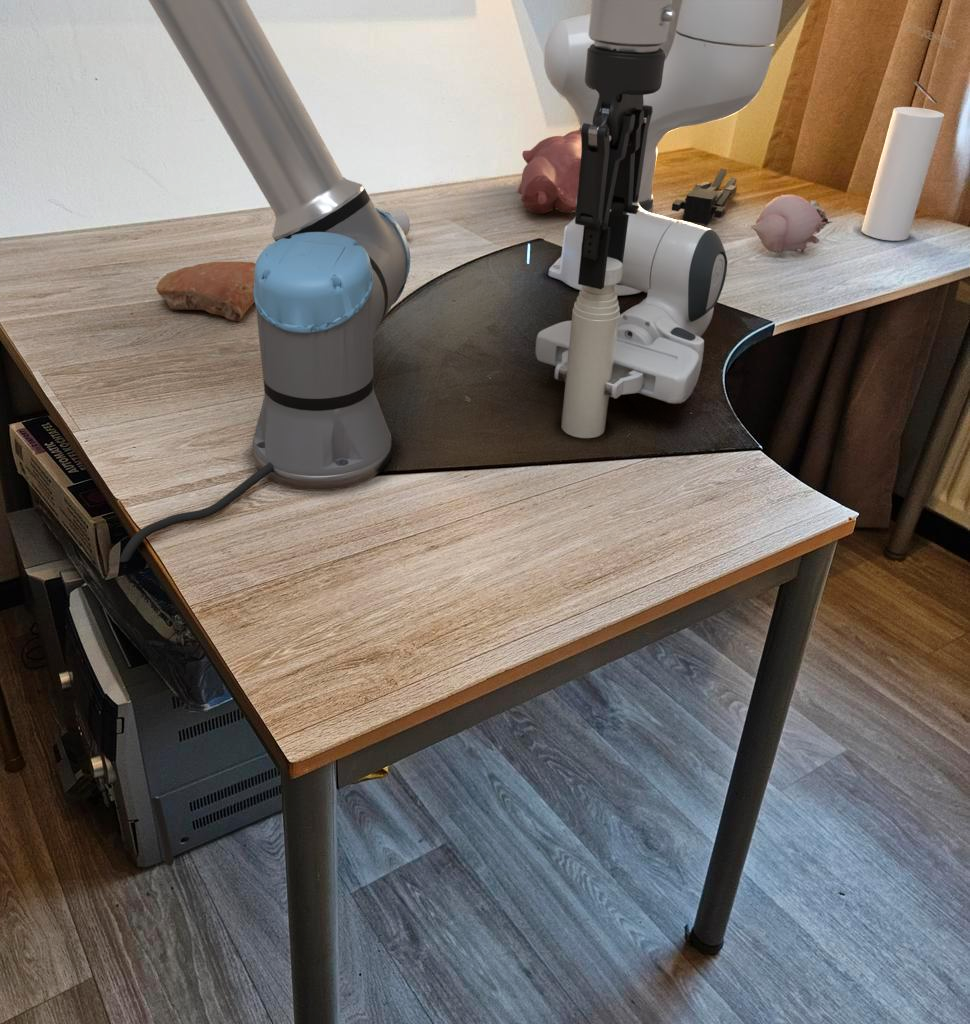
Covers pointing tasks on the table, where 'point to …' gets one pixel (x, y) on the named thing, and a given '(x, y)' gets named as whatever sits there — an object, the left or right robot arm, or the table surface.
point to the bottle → (590, 361)
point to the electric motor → (401, 219)
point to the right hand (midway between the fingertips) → (584, 383)
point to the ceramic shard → (211, 288)
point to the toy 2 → (789, 223)
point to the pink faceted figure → (552, 174)
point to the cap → (613, 271)
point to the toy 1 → (706, 200)
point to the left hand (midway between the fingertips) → (600, 278)
